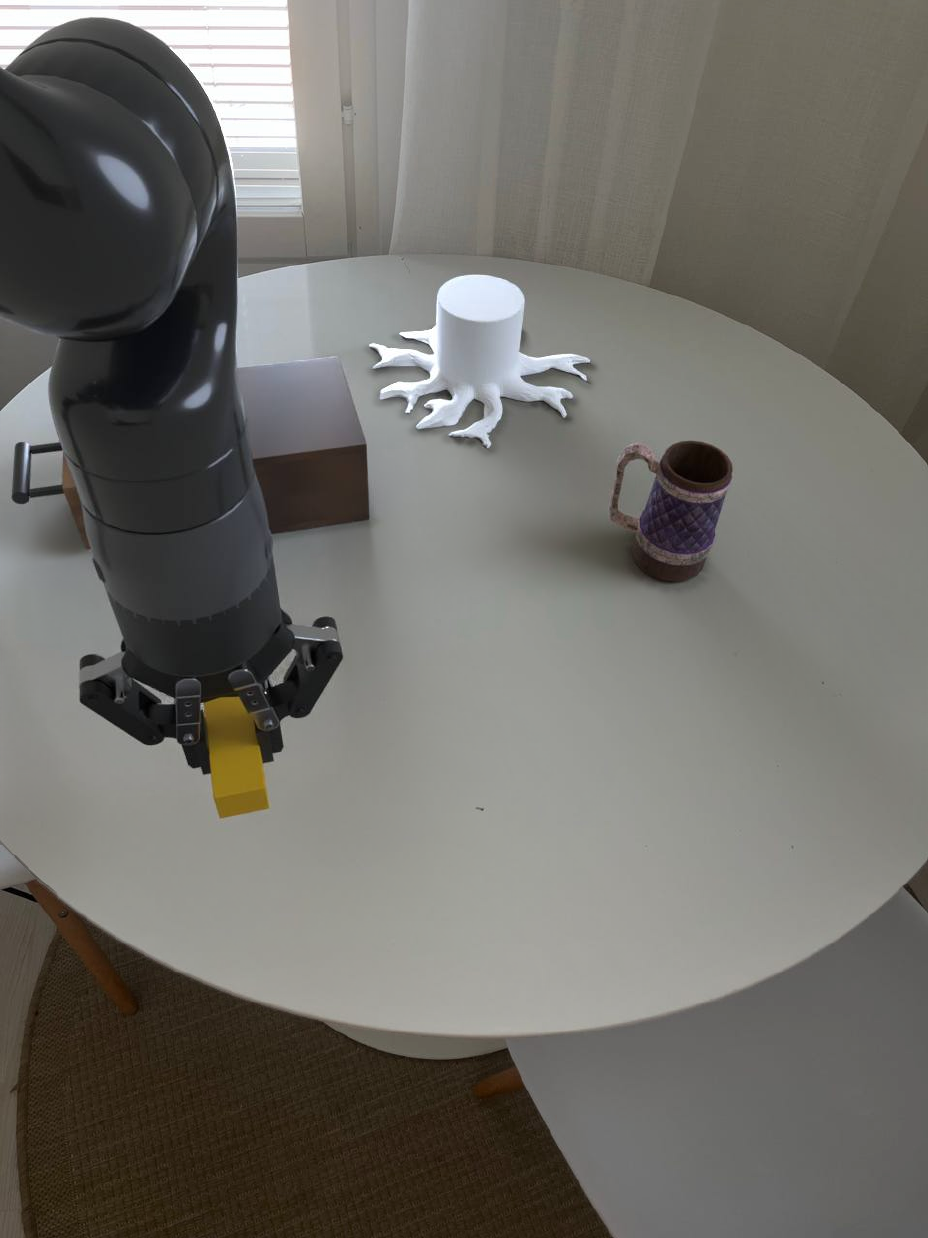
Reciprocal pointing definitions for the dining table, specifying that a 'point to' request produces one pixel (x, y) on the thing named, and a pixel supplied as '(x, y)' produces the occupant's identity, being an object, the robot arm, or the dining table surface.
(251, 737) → the box cutter
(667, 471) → the mug
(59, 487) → the drawer
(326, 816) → the dining table surface
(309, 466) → the cabinet
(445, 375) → the white tree stump
